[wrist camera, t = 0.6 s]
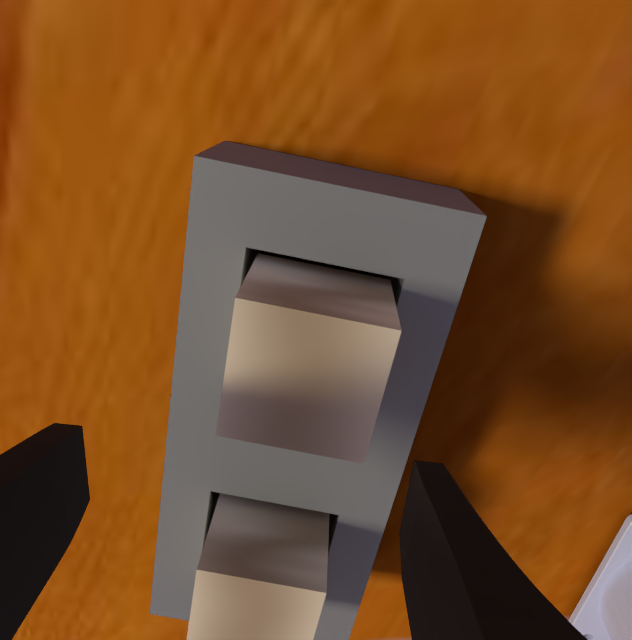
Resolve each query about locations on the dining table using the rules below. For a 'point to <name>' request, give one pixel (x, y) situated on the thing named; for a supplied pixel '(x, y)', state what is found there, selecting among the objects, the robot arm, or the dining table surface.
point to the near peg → (308, 358)
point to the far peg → (260, 572)
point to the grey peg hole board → (213, 339)
